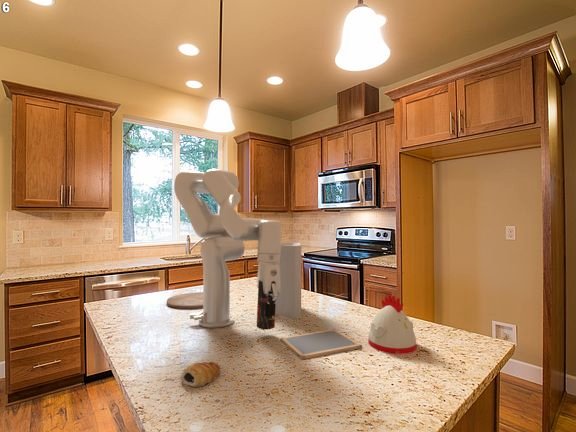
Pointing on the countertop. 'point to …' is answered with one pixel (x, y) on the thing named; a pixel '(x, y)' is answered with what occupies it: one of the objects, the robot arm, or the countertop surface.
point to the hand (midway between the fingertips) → (266, 312)
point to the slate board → (319, 343)
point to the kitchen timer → (392, 329)
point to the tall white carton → (289, 281)
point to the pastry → (200, 374)
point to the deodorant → (263, 310)
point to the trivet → (186, 301)
